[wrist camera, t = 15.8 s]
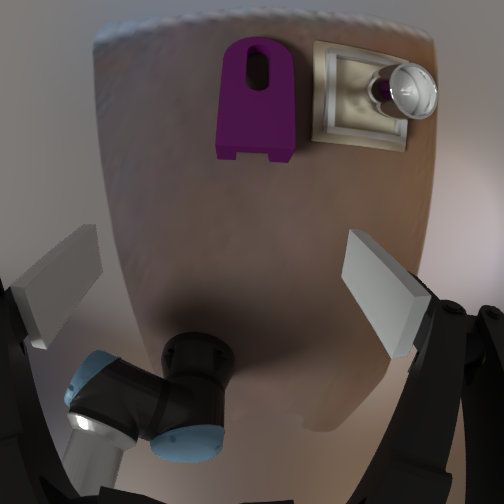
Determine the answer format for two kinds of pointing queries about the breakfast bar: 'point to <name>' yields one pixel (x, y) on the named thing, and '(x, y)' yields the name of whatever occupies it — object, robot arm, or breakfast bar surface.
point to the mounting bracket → (256, 104)
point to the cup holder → (335, 104)
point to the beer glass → (394, 93)
